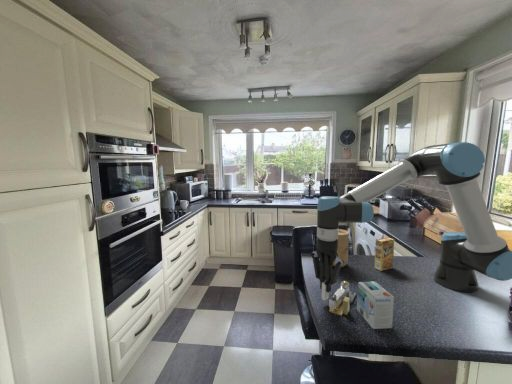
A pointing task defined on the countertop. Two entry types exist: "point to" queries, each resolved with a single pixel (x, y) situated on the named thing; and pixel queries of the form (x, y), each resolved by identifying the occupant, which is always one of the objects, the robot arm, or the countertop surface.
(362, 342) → the countertop surface
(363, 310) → the light bulb box
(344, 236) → the container
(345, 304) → the keeper
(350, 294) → the plate
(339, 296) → the latch bar
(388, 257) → the candy box
